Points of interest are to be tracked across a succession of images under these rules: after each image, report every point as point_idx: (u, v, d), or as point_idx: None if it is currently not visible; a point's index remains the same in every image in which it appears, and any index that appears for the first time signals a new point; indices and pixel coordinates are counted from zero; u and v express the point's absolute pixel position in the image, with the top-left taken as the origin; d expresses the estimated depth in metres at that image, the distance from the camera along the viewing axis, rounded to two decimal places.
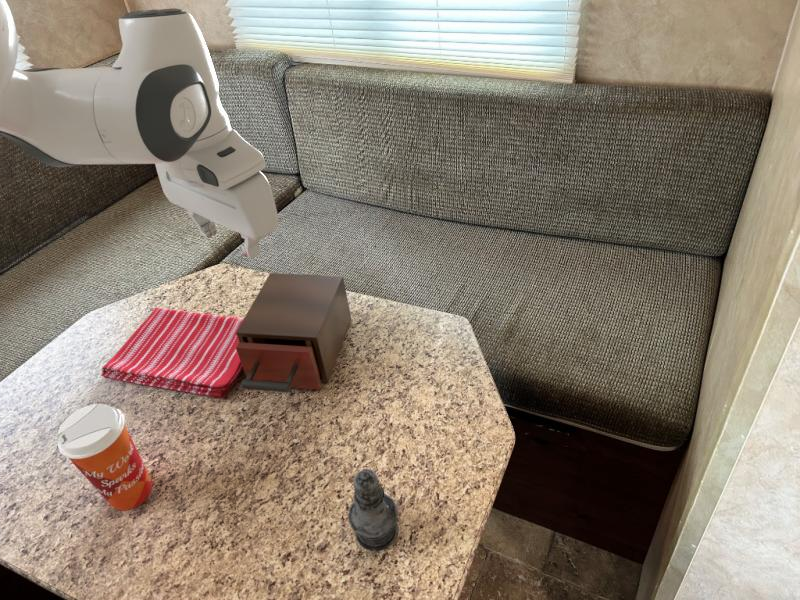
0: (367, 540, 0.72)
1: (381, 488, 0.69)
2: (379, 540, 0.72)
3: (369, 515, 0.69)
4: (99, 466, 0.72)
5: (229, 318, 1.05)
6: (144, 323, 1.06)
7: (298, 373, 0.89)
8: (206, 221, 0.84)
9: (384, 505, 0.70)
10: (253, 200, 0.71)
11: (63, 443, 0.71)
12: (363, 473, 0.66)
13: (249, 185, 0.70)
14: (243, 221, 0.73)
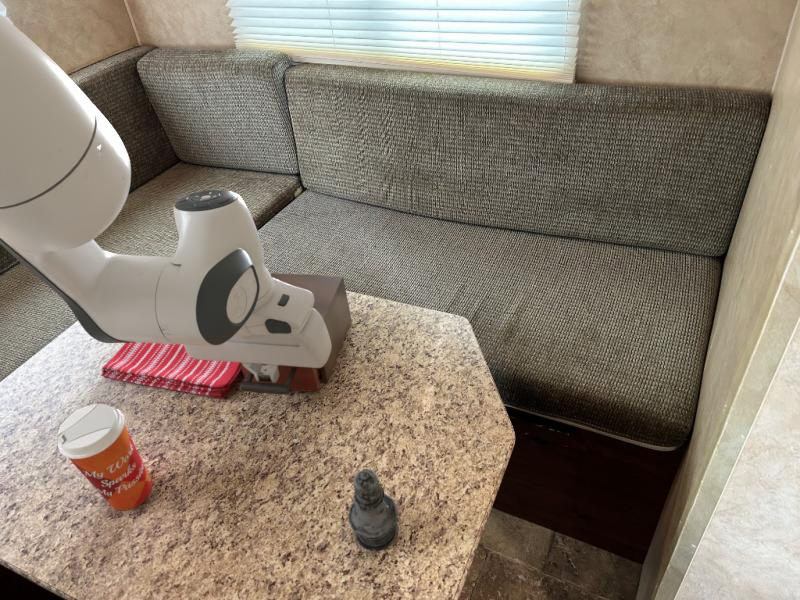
0: (367, 540, 0.72)
1: (381, 488, 0.69)
2: (379, 540, 0.72)
3: (369, 515, 0.69)
4: (99, 466, 0.72)
5: None
6: None
7: (297, 376, 0.89)
8: (260, 367, 0.86)
9: (384, 505, 0.70)
10: (318, 334, 0.78)
11: (63, 443, 0.71)
12: (363, 473, 0.66)
13: (311, 322, 0.77)
14: (307, 355, 0.79)
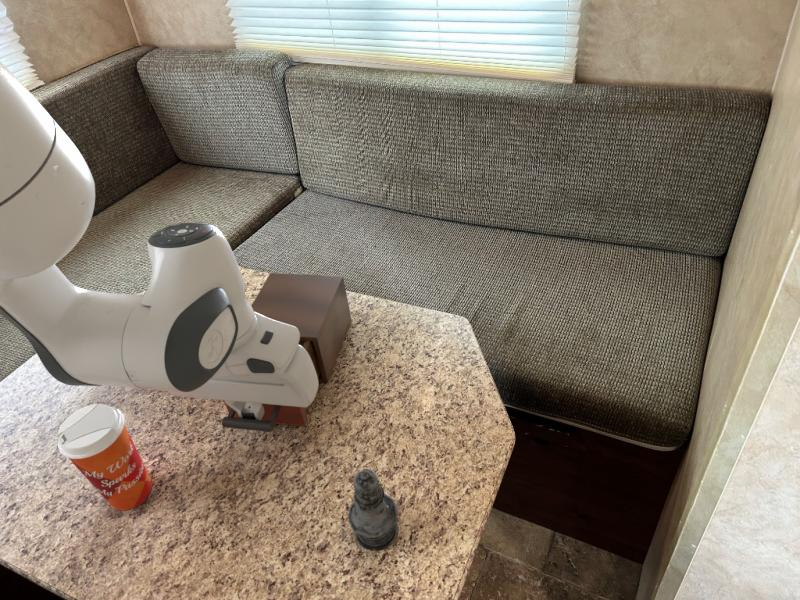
0: (367, 540, 0.72)
1: (381, 488, 0.69)
2: (379, 540, 0.72)
3: (369, 515, 0.69)
4: (99, 466, 0.72)
5: None
6: None
7: (283, 410, 0.84)
8: (243, 404, 0.81)
9: (384, 505, 0.70)
10: (303, 372, 0.73)
11: (63, 443, 0.71)
12: (363, 473, 0.66)
13: (296, 360, 0.73)
14: (292, 394, 0.74)
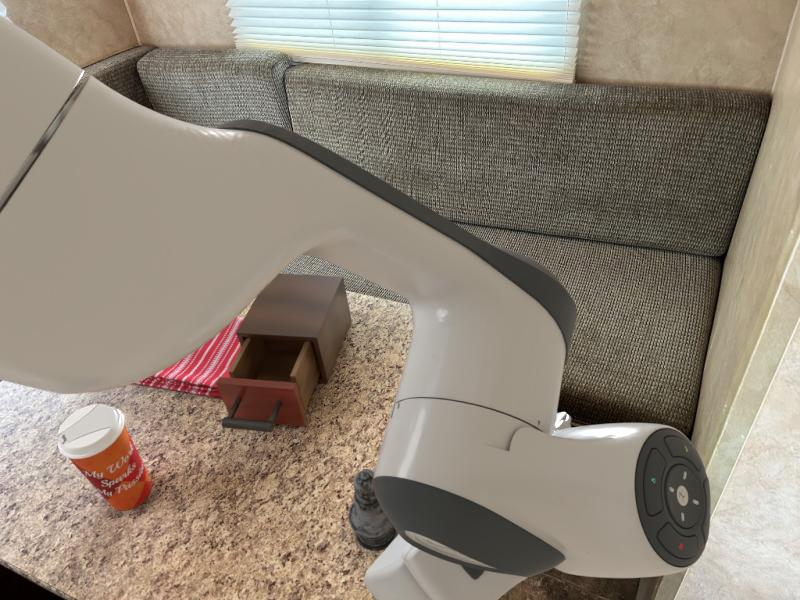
0: (367, 540, 0.72)
1: None
2: (379, 540, 0.72)
3: (369, 515, 0.69)
4: (99, 466, 0.72)
5: None
6: None
7: (283, 410, 0.84)
8: None
9: None
10: (397, 593, 0.43)
11: (63, 443, 0.71)
12: (363, 473, 0.66)
13: (418, 592, 0.42)
14: (387, 560, 0.46)
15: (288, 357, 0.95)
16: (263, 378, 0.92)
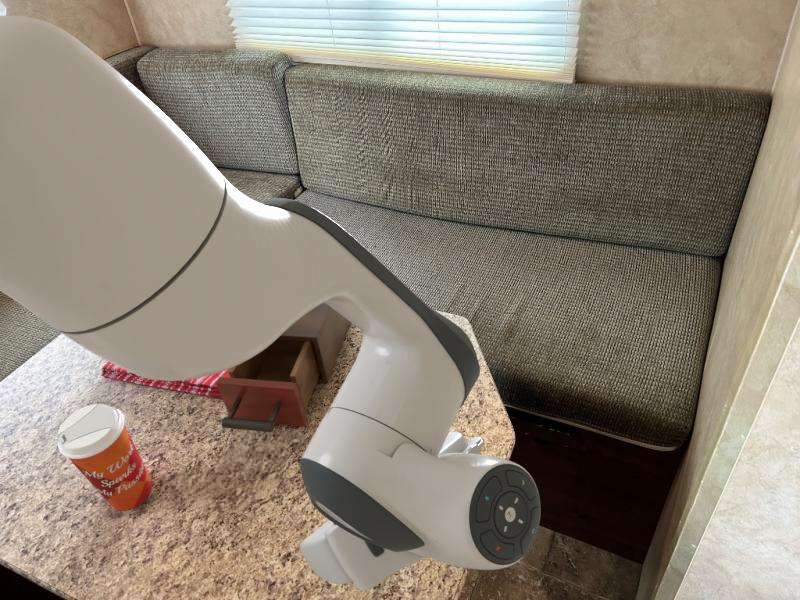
0: None
1: None
2: None
3: None
4: (99, 466, 0.72)
5: None
6: None
7: (283, 410, 0.84)
8: None
9: None
10: (320, 559, 0.56)
11: (63, 443, 0.71)
12: None
13: (334, 560, 0.55)
14: (319, 533, 0.59)
15: (288, 357, 0.95)
16: (263, 378, 0.92)
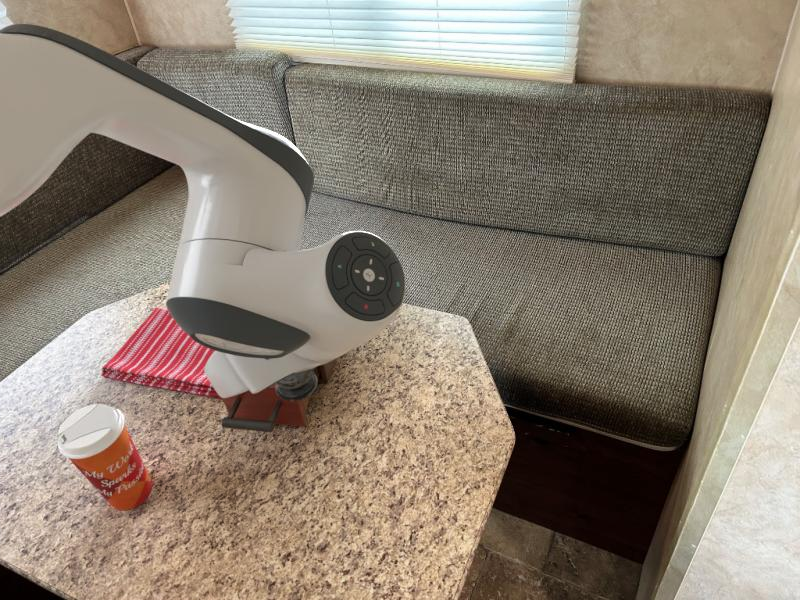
0: (286, 392, 0.74)
1: None
2: (297, 392, 0.74)
3: None
4: (99, 466, 0.72)
5: None
6: (144, 323, 1.06)
7: (283, 410, 0.84)
8: None
9: None
10: (218, 371, 0.59)
11: (63, 443, 0.71)
12: None
13: (230, 369, 0.58)
14: None
15: None
16: None
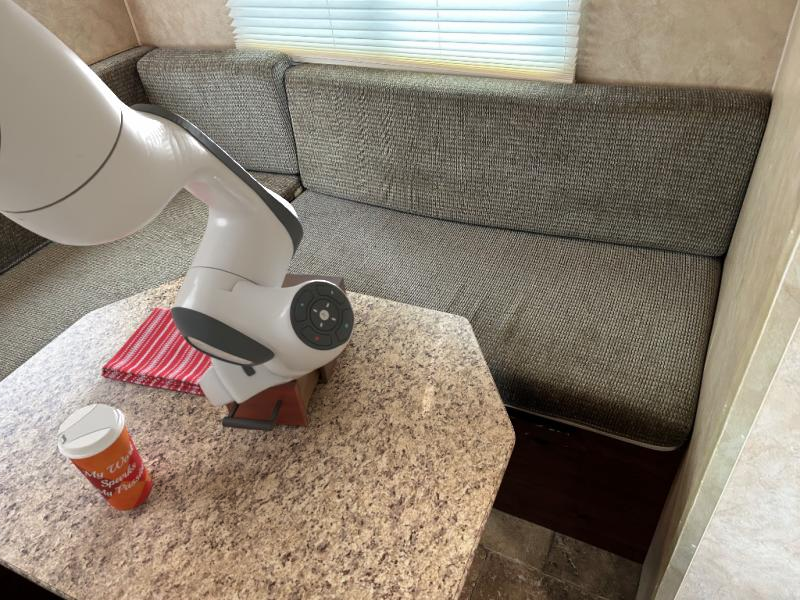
0: None
1: None
2: None
3: None
4: (99, 466, 0.72)
5: None
6: (144, 323, 1.06)
7: (283, 409, 0.84)
8: None
9: None
10: (210, 385, 0.73)
11: (63, 443, 0.71)
12: None
13: (219, 383, 0.72)
14: None
15: None
16: None
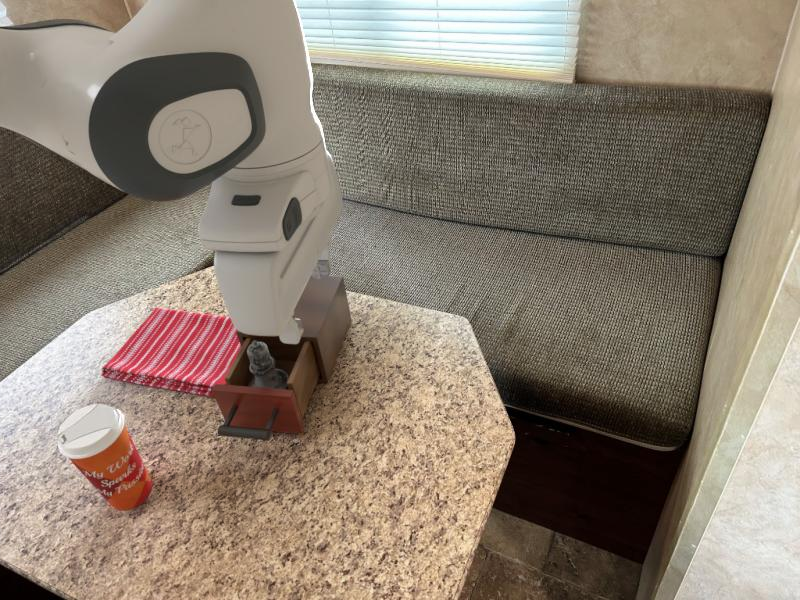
0: None
1: (273, 359, 0.84)
2: None
3: (262, 380, 0.84)
4: (99, 466, 0.72)
5: (229, 318, 1.05)
6: (144, 323, 1.06)
7: (279, 417, 0.83)
8: (322, 258, 0.61)
9: (276, 375, 0.85)
10: (236, 284, 0.45)
11: (63, 443, 0.71)
12: (254, 342, 0.81)
13: (241, 262, 0.44)
14: None
15: (285, 363, 0.94)
16: None
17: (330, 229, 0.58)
